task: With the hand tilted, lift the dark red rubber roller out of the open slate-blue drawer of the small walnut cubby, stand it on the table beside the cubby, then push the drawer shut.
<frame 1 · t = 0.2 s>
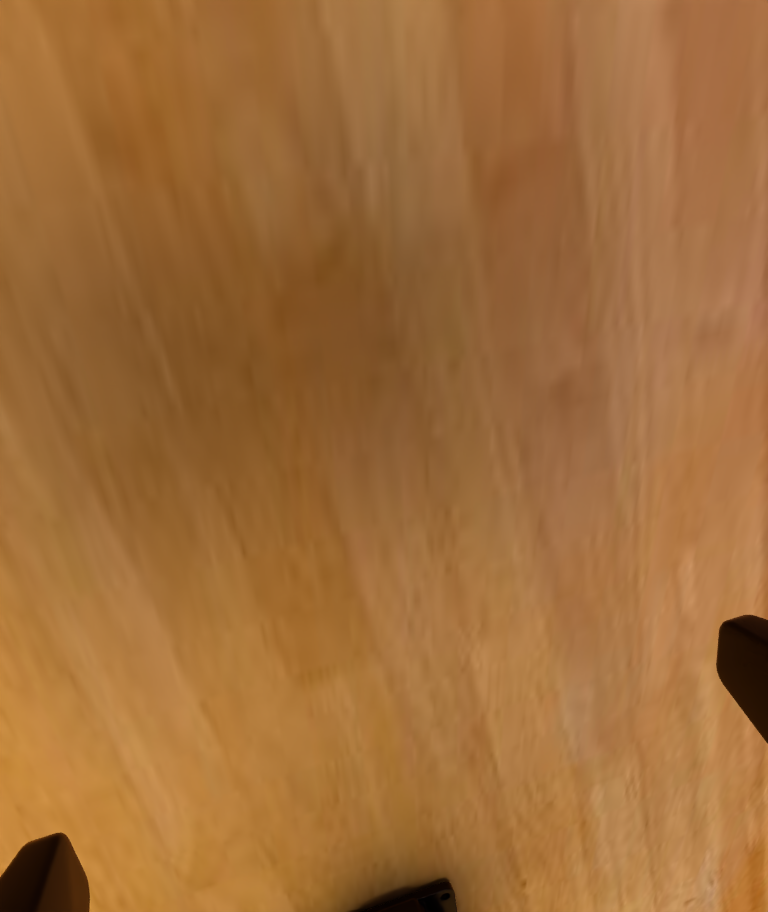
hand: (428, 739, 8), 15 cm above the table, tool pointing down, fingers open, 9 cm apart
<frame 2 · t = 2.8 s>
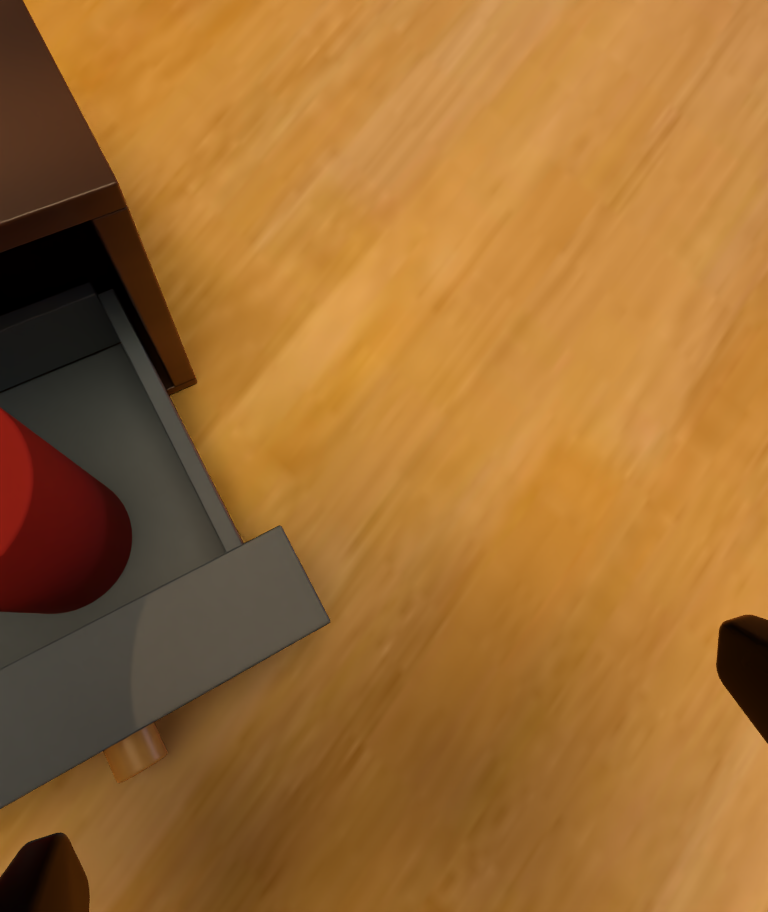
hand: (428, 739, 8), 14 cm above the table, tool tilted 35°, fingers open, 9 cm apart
roller: (60, 542, 20), point 1 cm above the table, touching drawer
drawer: (44, 552, 18), point 3 cm above the table, slide at 6.6 cm, touching roller
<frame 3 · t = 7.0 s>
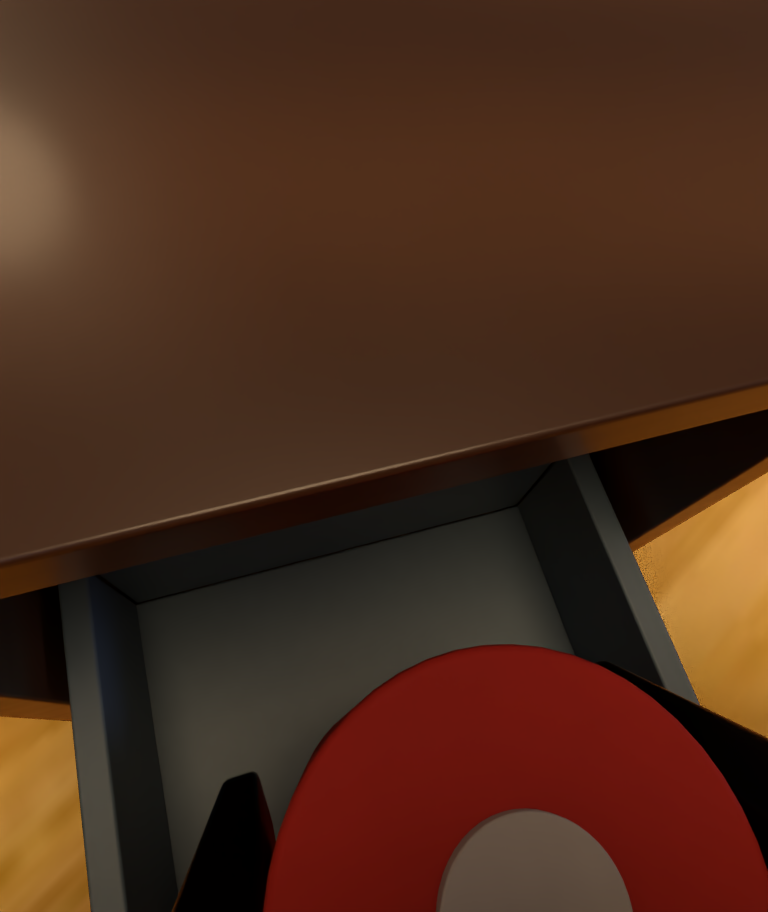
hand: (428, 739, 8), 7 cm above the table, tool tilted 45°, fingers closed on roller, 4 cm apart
roller: (407, 811, 13), point 1 cm above the table, touching drawer, gripper
cubby: (310, 465, 17), on the table
drawer: (432, 863, 11), point 3 cm above the table, slide at 6.6 cm, touching roller
when the fingers open (5 cm above the table, at t = 14.3 s): roller stays where it is, on the table.
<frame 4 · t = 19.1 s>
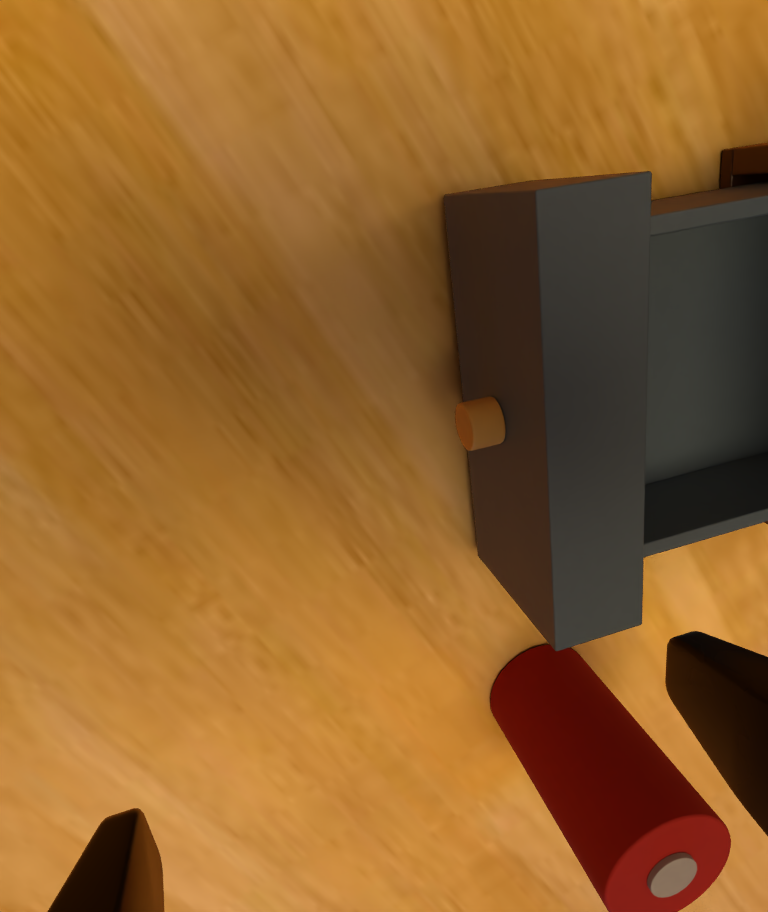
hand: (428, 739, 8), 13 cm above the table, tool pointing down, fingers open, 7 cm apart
roller: (538, 687, 27), on the table
drawer: (669, 381, 19), point 3 cm above the table, slide at 6.6 cm
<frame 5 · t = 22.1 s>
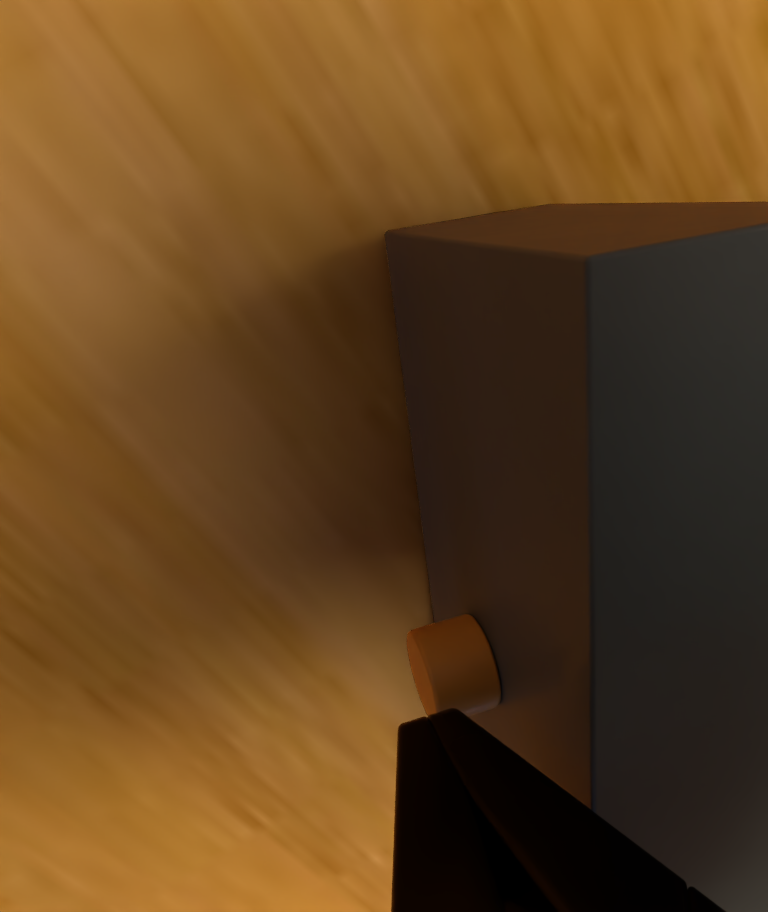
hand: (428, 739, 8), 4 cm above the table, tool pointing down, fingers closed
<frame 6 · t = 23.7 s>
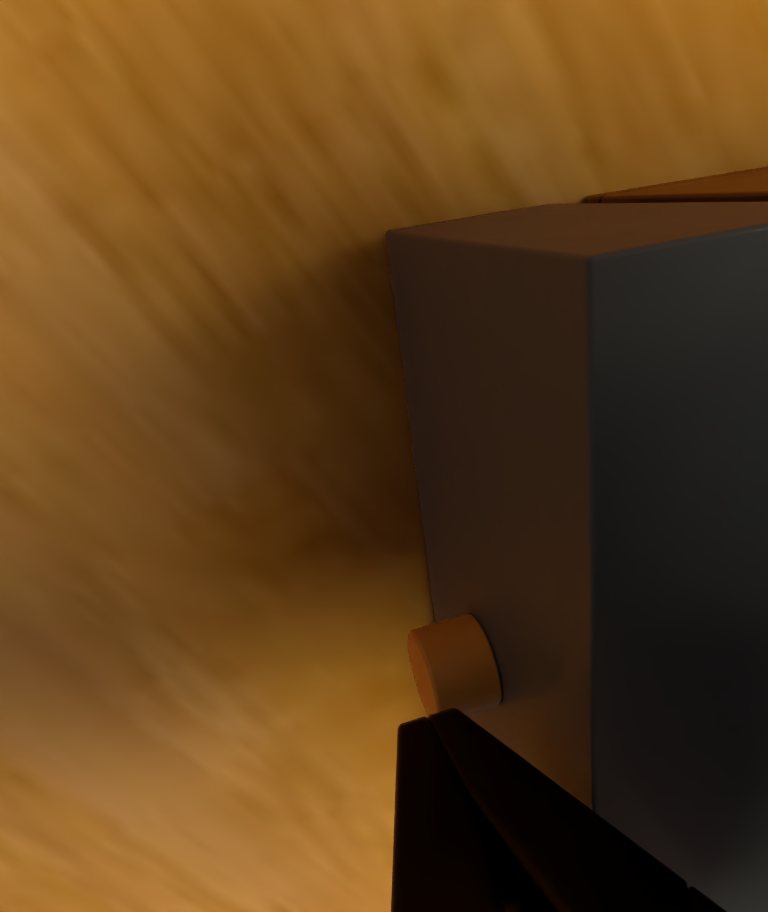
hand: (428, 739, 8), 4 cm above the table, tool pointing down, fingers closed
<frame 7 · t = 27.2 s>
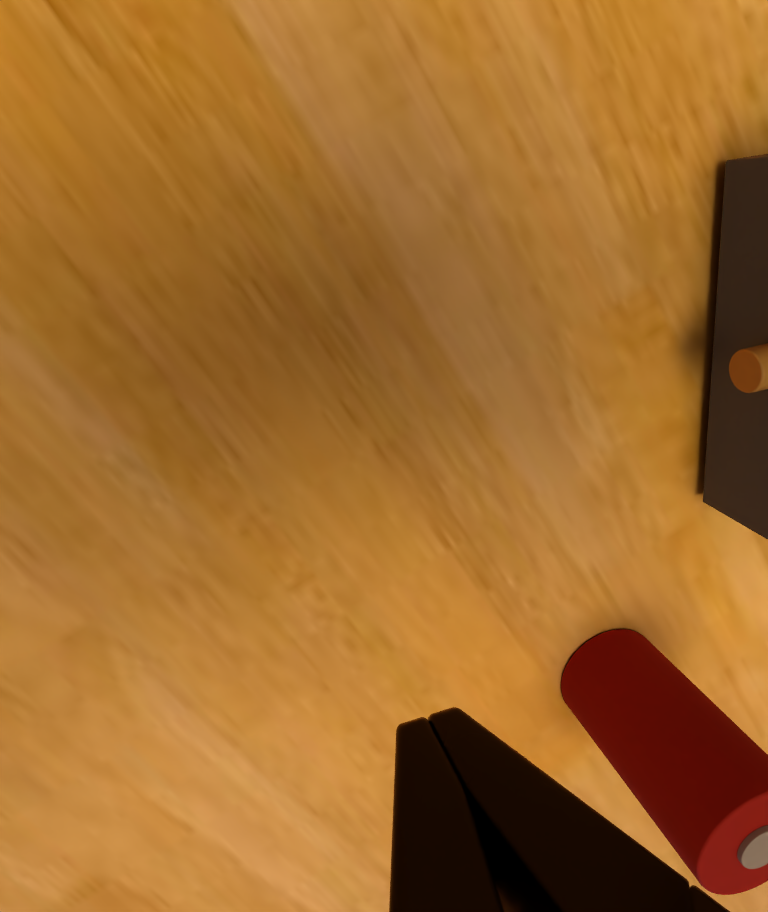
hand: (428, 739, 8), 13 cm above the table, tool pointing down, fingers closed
roller: (606, 672, 28), on the table
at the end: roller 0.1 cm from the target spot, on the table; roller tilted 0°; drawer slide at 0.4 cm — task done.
